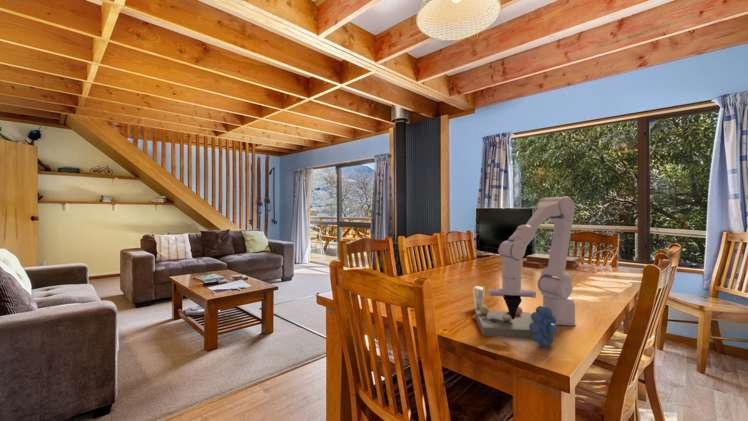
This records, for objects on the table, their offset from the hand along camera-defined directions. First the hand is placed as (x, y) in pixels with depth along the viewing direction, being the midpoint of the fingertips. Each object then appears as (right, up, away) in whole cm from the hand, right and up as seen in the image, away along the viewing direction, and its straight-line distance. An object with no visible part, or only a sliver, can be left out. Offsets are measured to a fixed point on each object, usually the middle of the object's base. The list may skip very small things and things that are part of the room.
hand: (511, 318), depth 107 cm
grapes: (+4, -4, -14) cm, 15 cm away
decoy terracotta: (+5, 0, +7) cm, 9 cm away
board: (0, -4, +2) cm, 4 cm away
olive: (-7, 0, +8) cm, 10 cm away
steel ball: (-1, 0, 0) cm, 1 cm away
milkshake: (-4, -4, +21) cm, 22 cm away
